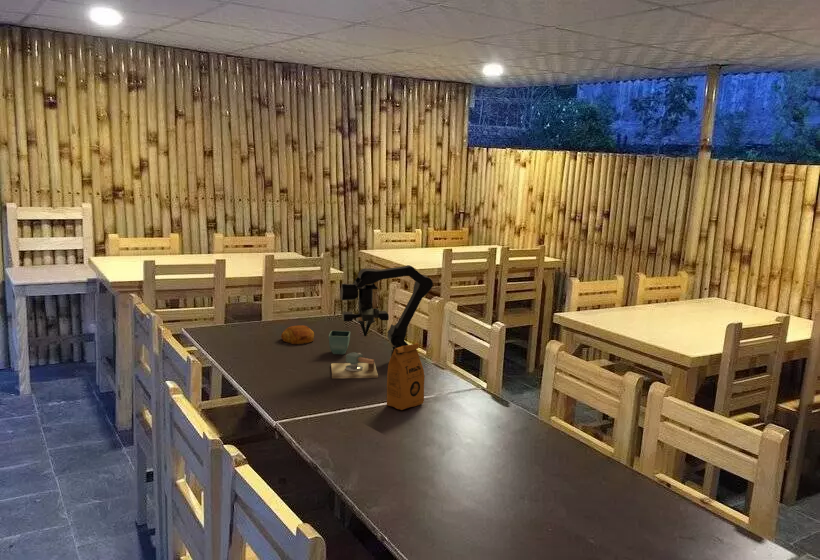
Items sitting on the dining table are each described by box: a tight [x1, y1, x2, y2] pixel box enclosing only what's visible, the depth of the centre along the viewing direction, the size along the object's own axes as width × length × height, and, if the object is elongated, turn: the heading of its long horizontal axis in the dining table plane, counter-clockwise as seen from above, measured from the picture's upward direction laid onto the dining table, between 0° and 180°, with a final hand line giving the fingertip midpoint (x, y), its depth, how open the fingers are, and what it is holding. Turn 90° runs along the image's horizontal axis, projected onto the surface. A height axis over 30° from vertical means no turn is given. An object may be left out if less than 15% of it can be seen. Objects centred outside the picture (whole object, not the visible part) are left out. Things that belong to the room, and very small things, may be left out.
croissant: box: [280, 324, 315, 345], centre depth 308 cm, size 14×16×8 cm
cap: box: [345, 351, 375, 364], centre depth 263 cm, size 11×5×3 cm, turn 60°
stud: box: [345, 363, 363, 372], centre depth 266 cm, size 7×7×3 cm
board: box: [330, 362, 379, 379], centre depth 266 cm, size 18×16×1 cm
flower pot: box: [328, 330, 351, 355], centre depth 290 cm, size 9×9×9 cm
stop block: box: [368, 362, 375, 371], centre depth 265 cm, size 2×2×3 cm
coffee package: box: [386, 342, 425, 411], centre depth 229 cm, size 10×12×22 cm
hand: (365, 336), depth 274 cm, fingers closed
